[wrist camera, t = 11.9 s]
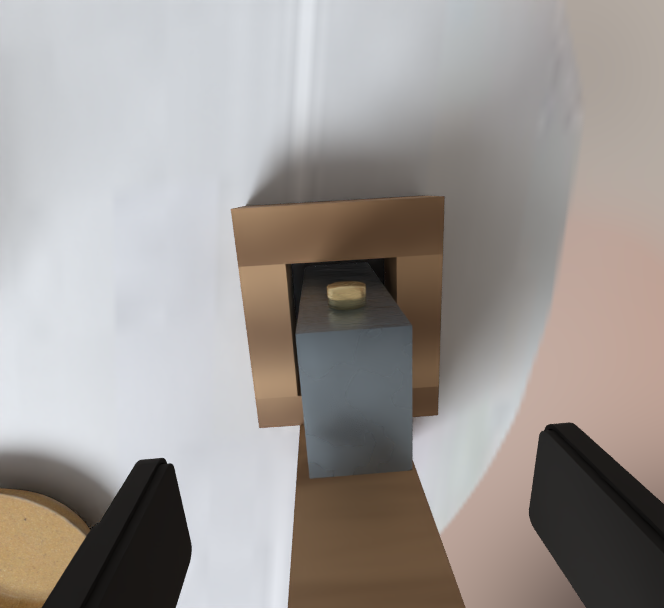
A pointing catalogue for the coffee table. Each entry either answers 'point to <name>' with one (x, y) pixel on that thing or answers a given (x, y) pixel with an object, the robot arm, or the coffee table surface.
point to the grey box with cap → (354, 373)
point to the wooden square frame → (286, 406)
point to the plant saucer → (34, 546)
